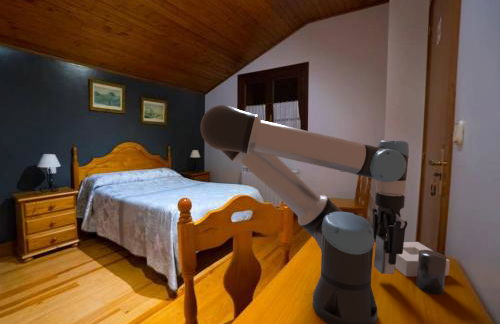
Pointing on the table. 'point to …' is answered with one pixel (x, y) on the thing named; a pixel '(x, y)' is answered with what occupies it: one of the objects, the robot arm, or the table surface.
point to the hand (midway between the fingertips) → (384, 268)
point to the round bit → (431, 272)
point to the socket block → (412, 259)
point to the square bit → (380, 253)
